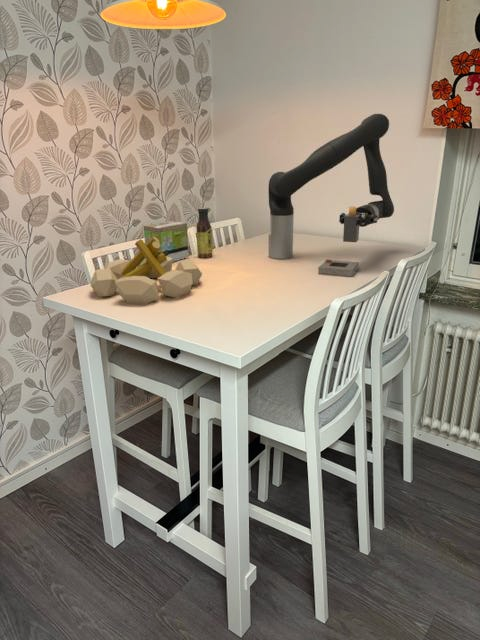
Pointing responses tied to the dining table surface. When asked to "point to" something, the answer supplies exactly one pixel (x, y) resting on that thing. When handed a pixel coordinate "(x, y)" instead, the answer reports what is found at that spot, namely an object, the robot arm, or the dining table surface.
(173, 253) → the tea box
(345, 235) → the plug
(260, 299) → the dining table surface
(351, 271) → the socket
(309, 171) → the robot arm
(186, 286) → the campfire
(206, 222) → the sauce bottle
